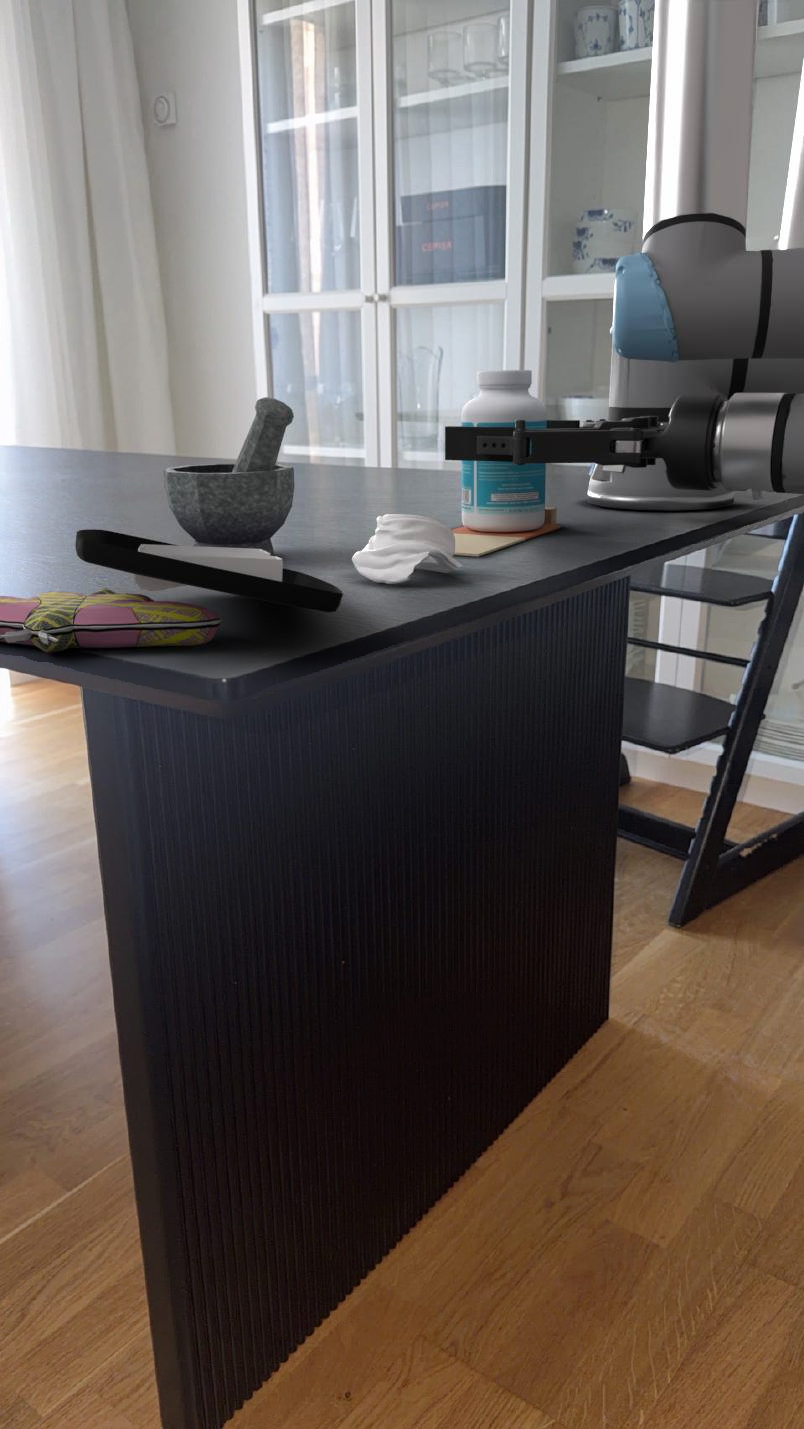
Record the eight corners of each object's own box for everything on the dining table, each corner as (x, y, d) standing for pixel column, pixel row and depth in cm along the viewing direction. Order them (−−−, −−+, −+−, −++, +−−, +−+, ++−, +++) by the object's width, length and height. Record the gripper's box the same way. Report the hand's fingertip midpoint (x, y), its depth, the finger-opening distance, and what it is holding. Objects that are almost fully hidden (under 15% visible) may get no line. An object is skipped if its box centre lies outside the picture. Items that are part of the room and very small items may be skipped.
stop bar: (496, 521, 101) (497, 504, 101) (556, 525, 99) (556, 507, 98) (490, 523, 100) (491, 506, 100) (550, 527, 97) (551, 509, 97)
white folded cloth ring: (335, 589, 75) (324, 519, 73) (402, 567, 79) (393, 502, 77) (415, 595, 69) (406, 521, 68) (483, 572, 73) (475, 501, 72)
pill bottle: (561, 527, 95) (566, 369, 91) (509, 537, 90) (512, 370, 86) (496, 521, 100) (498, 370, 96) (444, 529, 95) (443, 371, 91)
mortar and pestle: (144, 561, 81) (130, 398, 78) (231, 546, 88) (222, 396, 85) (250, 576, 75) (240, 398, 71) (335, 558, 82) (330, 396, 78)
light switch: (54, 578, 48) (352, 638, 51) (65, 514, 47) (365, 579, 51) (86, 557, 67) (303, 602, 70) (94, 511, 66) (311, 559, 70)
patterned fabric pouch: (251, 587, 59) (182, 631, 50) (253, 625, 60) (185, 675, 50) (-21, 579, 62) (-134, 619, 53) (-16, 615, 63) (-127, 660, 53)
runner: (480, 523, 101) (480, 521, 101) (560, 527, 97) (560, 525, 97) (388, 550, 86) (388, 547, 85) (478, 556, 82) (478, 554, 82)
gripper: (679, 507, 75) (415, 495, 85) (753, 477, 96) (534, 470, 106) (686, 397, 73) (414, 397, 83) (761, 390, 94) (536, 392, 103)
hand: (481, 438), depth 94 cm, fingers open, 13 cm apart
